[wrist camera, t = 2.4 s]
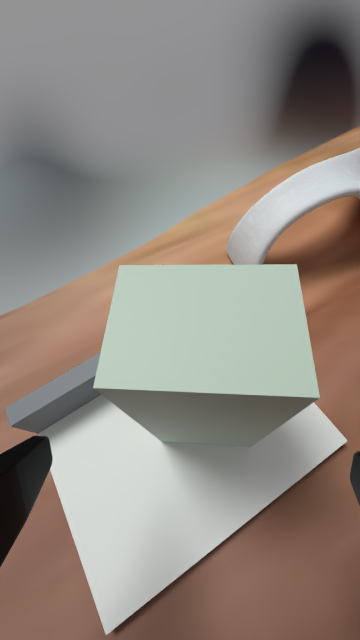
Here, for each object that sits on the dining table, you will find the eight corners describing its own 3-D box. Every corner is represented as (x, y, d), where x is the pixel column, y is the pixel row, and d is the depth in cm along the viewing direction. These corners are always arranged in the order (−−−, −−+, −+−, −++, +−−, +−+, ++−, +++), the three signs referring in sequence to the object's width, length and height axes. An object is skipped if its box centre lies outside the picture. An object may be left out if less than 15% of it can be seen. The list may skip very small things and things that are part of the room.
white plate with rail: (222, 304, 23) (224, 275, 20) (341, 442, 17) (373, 434, 14) (37, 416, 20) (3, 403, 17) (111, 627, 14) (81, 672, 11)
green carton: (247, 379, 19) (295, 259, 9) (251, 447, 17) (319, 397, 7) (167, 376, 20) (120, 260, 9) (161, 441, 18) (92, 388, 7)
